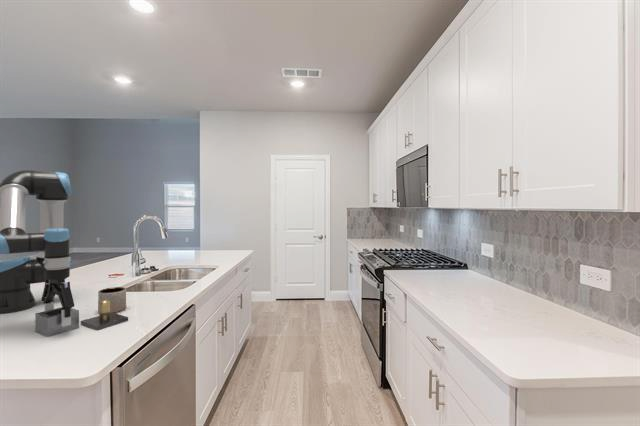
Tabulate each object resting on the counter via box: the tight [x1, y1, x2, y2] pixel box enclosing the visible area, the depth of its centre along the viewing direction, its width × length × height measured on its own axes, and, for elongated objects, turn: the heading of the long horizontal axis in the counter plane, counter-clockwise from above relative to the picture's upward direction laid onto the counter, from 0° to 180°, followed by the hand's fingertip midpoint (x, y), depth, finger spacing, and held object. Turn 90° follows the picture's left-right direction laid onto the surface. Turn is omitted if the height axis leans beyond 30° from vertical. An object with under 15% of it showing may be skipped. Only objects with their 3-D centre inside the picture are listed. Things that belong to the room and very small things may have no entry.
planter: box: [97, 286, 127, 314], centre depth 144 cm, size 11×11×10 cm
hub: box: [80, 300, 129, 331], centre depth 129 cm, size 12×12×9 cm
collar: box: [34, 306, 80, 338], centre depth 122 cm, size 10×10×7 cm
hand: (57, 322), depth 121 cm, fingers open, 13 cm apart
